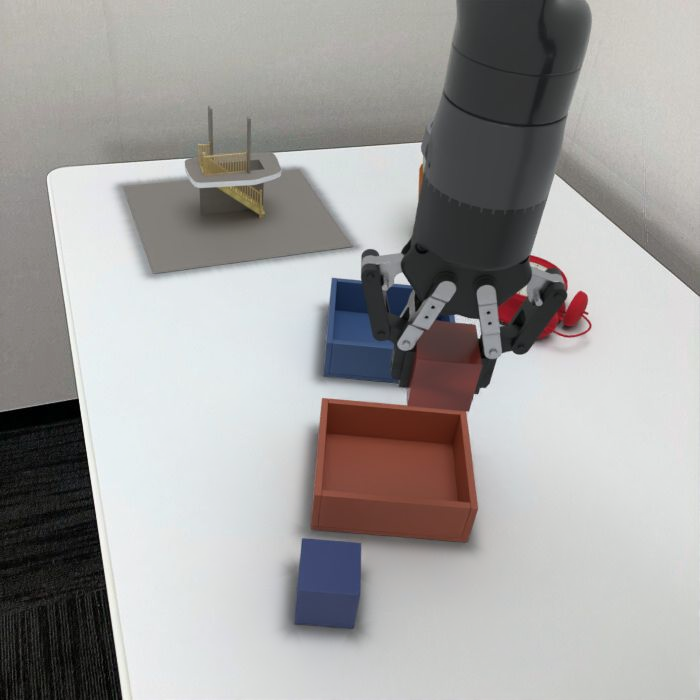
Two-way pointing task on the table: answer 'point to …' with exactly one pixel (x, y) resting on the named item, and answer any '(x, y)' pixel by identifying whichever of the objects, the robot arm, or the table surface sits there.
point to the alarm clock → (570, 318)
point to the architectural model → (230, 212)
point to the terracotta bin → (393, 471)
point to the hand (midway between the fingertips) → (437, 382)
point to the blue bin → (360, 332)
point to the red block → (445, 367)
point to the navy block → (328, 583)
